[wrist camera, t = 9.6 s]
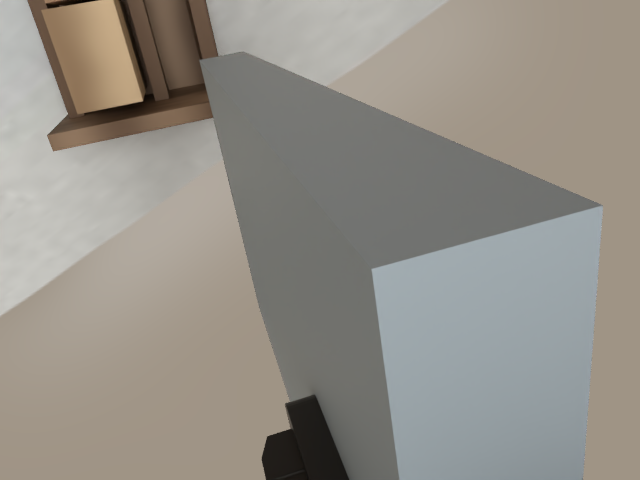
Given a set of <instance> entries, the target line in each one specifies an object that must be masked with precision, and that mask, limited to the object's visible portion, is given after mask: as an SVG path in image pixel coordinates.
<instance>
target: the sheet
mask: <svg viewBox="0 0 640 480" xmlns="http://www.w3.org/2000/svg"><path fill="white" fill-rule="evenodd" d="M199 61H200V65H201V69H202V73H203V77H204V82H205V86H206V90H207V94H208V98H209V102H210V106H211V110H212V115H213V119H214V123H215V127H216V131H217V135H218V139H219V143H220V148H221V152H222V156H223V160H224V164H225V168H226V172H227V176H228V181H229V185H230V189H231V193H232V197H233V201H234V205H235V210H236V214H237V218H238V222H239V226H240V230H241V234H242V238H243V243H244V247H245V251H246V255H247V259H248V263H249V267H250V271H251V276H252V280H253V284H254V288H255V292H256V296H257V300H258V304H259V308H260V311H261V314H262V317H263V320H264V323H265V326H266V329H267V332H268V335H269V339H270V342H271V345H272V348H273V351H274V354H275V357H276V360H277V363H278V366H279V369H280V372H281V375H282V378H283V381H284V385H285V387H286V390H287V394H288V397H289V400H290V402H292V401H295V400H298V399H301V398H304V397H307V396H311V395H314V394H315V396H316V398H317V400H318V402H319V405H320V407H321V410H322V412H323V415H324V417H325V420H326V422H327V425H328V427H329V430H330V432H331V435H332V437H333V440H334V442H335V445H336V447H337V450H338V452H339V455H340V457H341V460H342V462H343V465H344V467H345V470H346V472H347V475H348V477H349V480H583V470H584V456H585V443H586V429H587V416H588V402H589V388H590V374H591V361H592V348H593V334H594V321H595V306H596V293H597V279H598V266H599V265H598V264H599V252H600V238H601V226H602V211H603V205H601V204H599V203H596V202H594V201H591V200H589V199H587V198H584V197H582V196H580V195H578V194H575V193H573V192H570V191H568V190H566V189H564V188H561V187H559V186H556V185H554V184H552V183H549V182H547V181H545V180H542V179H540V178H538V177H535V176H533V175H531V174H528V173H526V172H524V171H521V170H519V169H517V168H514V167H512V166H510V165H507V164H505V163H503V162H500V161H498V160H496V159H493V158H491V157H488V156H486V155H484V154H482V153H479V152H477V151H474V150H472V149H470V148H468V147H465V146H463V145H461V144H458V143H456V142H454V141H451V140H449V139H447V138H444V137H442V136H440V135H437V134H435V133H433V132H430V131H428V130H425V129H423V128H420V127H418V126H416V125H414V124H411V123H409V122H407V121H404V120H402V119H400V118H397V117H395V116H393V115H390V114H388V113H386V112H383V111H381V110H379V109H376V108H374V107H372V106H369V105H367V104H365V103H362V102H360V101H358V100H355V99H353V98H351V97H348V96H346V95H343V94H341V93H339V92H336V91H334V90H332V89H329V88H327V87H325V86H323V85H320V84H318V83H316V82H313V81H311V80H309V79H306V78H304V77H302V76H299V75H297V74H295V73H292V72H290V71H287V70H285V69H283V68H280V67H278V66H276V65H273V64H271V63H269V62H266V61H264V60H262V59H259V58H257V57H255V56H252V55H250V54H248V53H245V52H239V53H234V54H228V55H223V56H218V57H213V58H207V59H202V60H199Z"/></svg>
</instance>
